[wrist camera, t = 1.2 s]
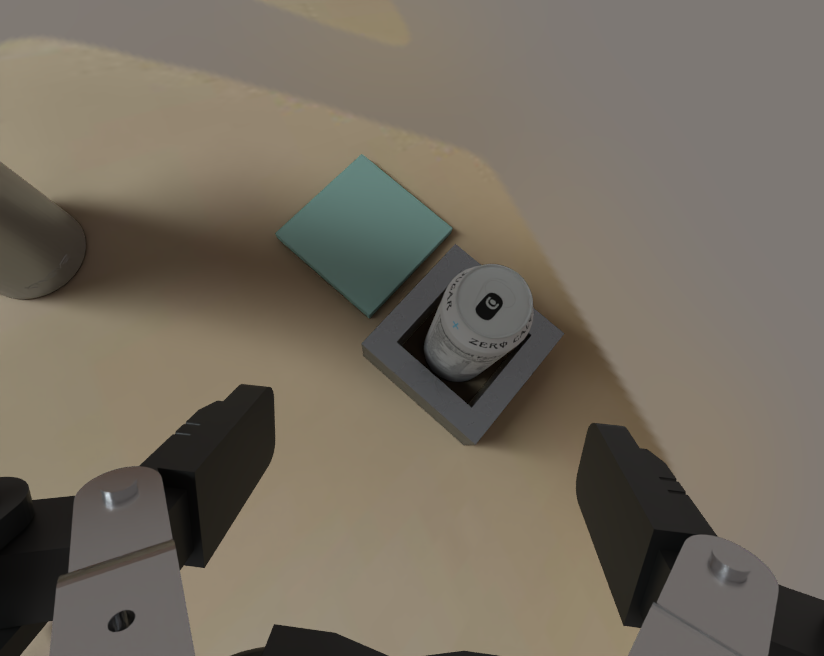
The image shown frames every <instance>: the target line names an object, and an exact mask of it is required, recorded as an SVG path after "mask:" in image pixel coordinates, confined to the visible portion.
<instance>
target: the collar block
mask: <svg viewBox="0 0 824 656" xmlns="http://www.w3.org/2000/svg"><path fill="white" fill-rule="evenodd" d="M476 266H481V265H480V264H479V263H478V262H477V261H476V260H474V259H473V258H472V257H471V256H469V255H468V254H467V253H466V252H465V251H463V250H462V249H461V248H460V247H459V246H457V245H456V244H455V245H454V246H453V247H452V248H451V249H450V250H449V251H448V252H447V253H446V254H445V256H444V257H443V258H442V259H441V260H440V261H439V262H438V263H437V264H436V265H435V266H434V267H433V268H432V269H431V270H430V271H429V273H428V274H427V275H426V276H425V277H424V278H423V279H422V280H421V281H420V282H419V283H418V284H417V285H416V286H415V287H414V288H413V290H412V291H411V292H410V293H409V294H408V295H407V296H406V297H405V298H404V299H403V300H402V301H401V302H400V303H399V304H398V305H397V306H396V308H395V309H394V310H393V311H392V312H391V313H390V314H389V315H388V316H387V317H386V318H385V319H384V320H383V321H382V322H381V323H380V325H379V326H378V327H377V328H376V329H375V330H374V331H373V332H372V333H371V334H370V335H369V336H368V337H367V338H366V339H365V340H364V342H363V343H362V351H363V356H364V357H365V358H366V359H367V360H368V361H370V362H371V363H372V364H373V365H374V366H375V367H376V368H377V369H379V370H380V371H381V372H382V373H383V374H384V375H385V376H386V377H388V378H389V379H390V380H391V381H392V382H393V383H394V384H395V385H397V386H398V387H399V388H400V389H401V390H402V391H403V392H404V393H406V394H407V395H408V396H409V397H410V398H411V399H412V400H413V401H415V402H416V403H417V404H418V405H419V406H420V407H421V408H422V409H424V410H425V411H426V412H427V413H428V414H429V415H430V416H431V417H433V418H434V419H435V420H436V421H437V422H438V423H439V424H440V425H442V426H443V427H444V428H445V429H446V430H447V431H448V432H450V433H451V434H452V435H453V436H454V437H455V438H456V439H457V440H459V441H460V442H461V443H462V444H463V445H476V443H477V442H478V441H479V440H480V438H481V437H482V436H483V435H484V433H485V432H486V431H487V430H488V428H489V427H490V426H491V425H492V423H493V422H494V421H495V420H496V418H497V417H498V416H499V415H500V413H501V412H502V411H503V410H504V408H505V407H506V406H507V405H508V403H509V402H510V401H511V400H512V398H513V397H514V396H515V395H516V393H517V392H518V391H519V390H520V388H521V387H522V386H523V385H524V383H525V382H526V381H527V380H528V378H529V377H530V376H531V375H532V373H533V372H534V371H535V370H536V368H537V367H538V366H539V365H540V363H541V362H542V361H543V360H544V358H545V357H546V356H547V355H548V353H549V352H550V351H551V350H552V348H553V347H554V346H555V345H556V343H557V342H558V341H559V340H560V338H561V337H562V336H563V335H564V333H563V332H562V331H561V330H559V329H558V328H557V327H556V326H555V325H553V324H552V323H551V322H550V321H549V320H547V319H546V318H545V317H544V316H542V315H541V314H540V313H539V312H538V311H536V310H535V309H534V308H533V314H534V315H533V322H532V325H531V328H530V331H529V332H528V334H527V336H526V337H525V339H524V340H523V341H522V342H521V343H520V344H518V345H517V346H516V347H515V348H514V349H513V351H512V352H511V353H510V354H509V355H508V357H507V358H506V359H505V360H504V361H503V363H502V364H501V365H500V366H499V367H498V369H497V370H496V371H495V372H494V373H493V375H492V376H491V377H490V378H489V379H488V381H487V382H486V383H485V384H484V385H483V387H482V388H481V389H480V390H479V392H478V393H477V394H476V395H475V396H474V398H473V399H472V400H471V401H470V402H469V404H467V403H466V402H465V401H463V400H462V399H461V398H460V397H459V396H458V395H457V394H455V393H454V392H453V391H452V390H451V389H450V388H448V387H447V386H446V385H445V384H444V383H443V382H442V381H440V380H439V379H438V378H437V377H436V376H435V375H434V374H432V373H431V372H430V371H429V370H428V369H427V368H426V367H424V366H423V365H422V364H421V363H420V362H419V361H418V360H416V359H415V358H414V357H413V356H412V355H411V354H410V353H408V352H407V351H406V350H405V349H404V348H403V347H402V345H403V344H404V343H405V342H406V341H407V340H408V339H409V338H410V337H411V336H412V334H413V333H414V332H415V331H416V330H417V329H418V328H419V327H420V326H421V325H422V323H423V322H424V321H425V320H426V319H427V318H428V317H429V316H430V315H431V314H432V312H433V311H434V310H435V309H436V308H437V307H438V306H439V305H440V303H441V300H442V298H443V295H444V293H445V291H446V289H447V286H448V285H449V284H450V282H451V281H452V279H454V278H455V277H456V276H457V275H458V274H459V273H461V272H463V271H464V270H466V269H469V268H472V267H476Z"/></svg>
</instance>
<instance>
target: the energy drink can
mask: <svg viewBox="0 0 824 656" xmlns="http://www.w3.org/2000/svg"><path fill="white" fill-rule="evenodd" d="M533 315H534V314H533V298H532V294H531V291H530V289H529V286H528V284H527V283H526V282H525V280H524V279H523V278H522V277H521V276H520V275H519V274H518V273H517V272H515V271H514V270H512V269H510V268H508V267H506V266H502V265H498V264H486V265H481V266H476V267H472V268H469V269H466V270H464V271H463V272H461V273H459V274H458V275H457V276H456V277H455V278H454V279H452V281H451V282H450V284H449V285H448V286H447V289H446V291H445V293H444V295H443V298H442V300H441V303H440V305H439V307H438V310H437V312H436V314H435V317H434V319H433V322H432V324H431V326H430V329H429V331H428V333H427V336H426V338H425V342H424V354H425V358H426V361H427V363H428V365H429V366H430V368H431V369H432V370H433V371H434V372H435V374H437V375H438V376H440V377H441V378H443V379H446V380H448V381H453V382H463V381H468V380H470V379H473V378H474V377H476V376H477V375H479V374H480V373H481V372H483V371H484V370H485V369H487V368H488V367H489V366H491V365H492V364H493V363H495V362H496V361H497V360H499V359H500V358H501V357H503V356H504V355H505V354H507V353H508V352H509V351H511V350H512V349H513V348H515V347H516V346H517V345H518V344H520V343H521V342H522V341H523V340H524V339H525V337H526V336H527V334H528V332H529V331H530V328H531V325H532V322H533Z"/></svg>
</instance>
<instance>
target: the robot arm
mask: <svg viewBox="0 0 824 656" xmlns="http://www.w3.org/2000/svg"><path fill="white" fill-rule="evenodd" d="M85 250H86V241H85V236H84V233H83V230H82V228H81V226H80V225H79V223H78V222H77V221H76V220H75V219H74V218H73V217H72V216H71V215H70V214H68V213H67V212H66V211H64V210H63V209H62V208H60V207H59V206H58V205H56V204H55V203H54V202H53V201H51V200H50V199H49V198H47V197H46V196H45V195H44V194H42V193H41V192H40V191H38V190H37V189H36V188H34V187H33V186H32V185H31V184H29V183H28V182H27V181H25V180H24V179H23V178H21V177H20V176H19V175H17V174H16V173H15V172H13V171H12V170H11V169H9V168H8V167H7V166H6V165H4V164H3V163H2V162H0V295H3V296H6V297H9V298H15V299H31V298H37V297H40V296H44V295H47V294H49V293H51V292H53V291H56V290H57V289H59V288H60V287H62V286H63V285H64V284H66V283H67V282H68V281H69V280H70V279H71V278H72V277H73V276H74V275H75V273H76V272H77V270H78V269H79V267H80V266H81V263H82V261H83V259H84V255H85ZM274 448H275V416H274V394H273V390H272V388H271V387H264V386H255V385H246V384H241V385H239V386H238V387H237V388H236V389H235V390H234V391H233V392H232V393H231V394H230V395H229V396H228V397H227V398H226V399H225V400H224V401H216V402H214V403H212V404H210V405H208V406H206V407H204V408H202V409H200V410H198V411H197V412H196V413H195V414H194V415H193V416H192V417H191V418H190V419H189V420H187V421H186V424H183V425H182V426H181V427H180V428H179V429H178V430H177V431H176V433H175V435H174V434H173V435H172V436H171V437H169V438H168V439H167V440H166V441H165V442H164V443H163V444H162V445H161V446H160V447H159V448H158V449H157V450H156V451H155V452H154V453H153V454H151V455H150V456H149V457H148V458H147V459H146V460H145V461H144V462H143V463H142V464H141V465H140V466H132V467H124V468H119V469H116V470H112V471H109V472H106V473H104V474H102V475H100V476H97V477H96V478H94V479H92V480H91V481H89V482H88V483H86V484H85V485H84V486H83V487H82V488H81V489H80V490H79V491H78V492H77V494H76V496H68V497H58V498H49V499H39V500H32V498H31V494H30V491H29V487H28V484H27V483H26V482H25V481H24V480H22V479H19V478H15V477H0V656H20V655H21V654H22V652H23V651H24V650H25V649H26V648H27V646H28V645H29V644H30V643H31V642H32V640H33V639H34V638H35V637H36V636H37V634H38V633H39V632H40V631H41V630H42V628H43V627H44V626H45V625H46V623H47V622H48V621H53V625H52V635H51V645H50V654H49V656H195V652H194V647H193V641H192V636H191V630H190V624H189V619H188V613H187V608H186V602H185V597H184V591H183V586H182V580H181V575H180V570H181V568H182V567H183V565H186V566H194V567H201V568H205V566H206V565H207V563H208V562H209V560H210V558H211V557H212V555H213V554H214V552H215V550H216V549H217V547H218V546H219V544H220V542H221V541H222V539H223V538H224V536H225V534H226V533H227V531H228V530H229V528H230V527H231V525H232V523H233V522H234V520H235V519H236V517H237V515H238V514H239V512H240V511H241V509H242V507H243V506H244V504H245V503H246V501H247V499H248V498H249V496H250V495H251V493H252V491H253V490H254V488H255V487H256V485H257V483H258V482H259V480H260V479H261V477H262V475H263V474H264V472H265V471H266V469H267V467H268V466H269V464H270V462H271V459H272V457H273V453H274ZM576 495H577V500H578V504H579V506H580V509H581V512H582V514H583V517H584V520H585V523H586V525H587V528H588V531H589V533H590V536H591V539H592V541H593V544H594V547H595V550H596V552H597V555H598V558H599V560H600V563H601V566H602V569H603V571H604V574H605V577H606V579H607V582H608V585H609V588H610V590H611V593H612V596H613V598H614V601H615V604H616V607H617V609H618V612H619V615H620V617H621V620H622V623H623V626H630V627H638V628H641V629H640V631H639V633H638V635H637V638H636V640H635V642H634V644H633V646H632V648H631V650H630V652H629V655H628V656H824V600H821V599H818V598H815V597H812V596H809V595H807V594H803V593H801V592H798V591H795V590H792V589H789V588H786V587H784V586H781V585H778V582H777V580H776V578H775V576H774V575H773V573H772V572H771V570H770V569H769V568H768V567H767V566H766V565H765V564H764V563H763V562H762V561H761V560H760V559H759V558H758V557H756V556H755V555H753V554H752V553H751V552H749V551H748V550H746V549H745V548H743V547H741V546H739V545H737V544H735V543H733V542H731V541H728V540H726V539H723V538H720V537H717V535H716V534H715V532H714V531H713V529H712V528H711V527H710V526H709V524H708V522H707V521H706V520H705V518H704V517H703V515H702V514H701V513H700V511H699V510H698V508H697V507H696V506H695V504H694V503H693V501H692V500H691V499H690V497H689V496H688V495H686V493H685V490H684V489H683V487H682V486H681V485H680V483H679V482H676V478H675V476H674V475H673V473H672V472H671V471H670V469H669V468H668V466H667V465H666V464H665V463H664V462H663V461H662V460H660V459H659V458H658V457H656V456H655V455H654V454H653V453H651V452H650V451H649V450H647V449H641V448H639V446H638V445H637V443H636V442H635V440H634V439H633V437H632V436H631V434H630V433H629V431H628V430H627V428H626V427H624V426H617V425H608V424H599V423H592V424H591V425H590V426H589V428H588V431H587V434H586V439H585V443H584V447H583V452H582V456H581V460H580V464H579V469H578V473H577V479H576ZM231 656H388V655H385V654H383V653H381V652H378V651H376V650H374V649H371V648H369V647H367V646H364V645H362V644H360V643H357V642H355V641H353V640H350V639H348V638H346V637H343V636H341V635H339V634H336V633H332V632H325V631H318V630H311V629H304V628H297V627H289V626H282V625H275V624H274V626H273V628H272V631H271V634H270V636H269V639H268V641H267V644H266V646H265V647H261V648H255V649H251V650H247V651H243V652H239V653H237V654H234V655H231ZM428 656H497V655H490V654H483V653H476V652H469V651H459V652H451V653H443V654H435V655H428Z"/></svg>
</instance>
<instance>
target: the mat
mask: <svg viewBox="0 0 824 656" xmlns="http://www.w3.org/2000/svg"><path fill="white" fill-rule="evenodd" d="M452 229H453V228H452V227H450V226H449V225H448V224H447V223H446V222H444V221H443V220H442V219H441V218H439V217H438V216H437V215H436V214H435V213H433V212H432V211H431V210H430V209H428V208H427V207H426V206H425V205H424V204H422V203H421V202H420V201H419V200H417V199H416V198H415V197H414V196H413V195H411V194H410V193H409V192H408V191H406V190H405V189H404V188H403V187H402V186H400V185H399V184H398V183H397V182H395V181H394V180H393V179H392V178H391V177H389V176H388V175H387V174H386V173H384V172H383V171H382V170H381V169H380V168H378V167H377V166H376V165H375V164H373V163H372V162H371V161H370V160H369V159H367V158H366V157H365V156H364V155H362V154H361V155H360V156H359V157H358V158H357V159H356V160H355V161H354V162H352V163H351V164H350V165H349V166H348V167H347V168H346V169H345V170H344V171H343V172H342V173H340V174H339V175H338V176H337V177H336V178H335V179H334V180H333V181H332V182H331V183H330V184H328V185H327V186H326V187H325V188H324V189H323V190H322V191H321V192H320V193H319V194H318V195H316V196H315V197H314V198H313V199H312V200H311V201H310V202H309V203H308V204H307V205H306V206H304V207H303V208H302V209H301V210H300V211H299V212H298V213H297V214H296V215H295V216H294V217H292V218H291V219H290V220H289V221H288V222H287V223H286V224H285V225H284V226H283V227H282V228H280V229H279V230H278V231H277V232H276V233H275V234H276V236H277V238H278V239H279V240H280V241H281V242H282V243H284V244H285V245H286V246H287V247H288V248H289V249H290V250H292V251H293V252H294V253H295V254H296V255H297V256H298V257H300V258H301V259H302V260H303V261H304V262H305V263H306V264H308V265H309V266H310V267H311V268H312V269H313V270H314V271H316V272H317V273H318V274H319V275H320V276H321V277H322V278H324V279H325V280H326V281H327V282H328V283H329V284H330V285H332V286H333V287H334V288H335V289H336V290H337V291H338V292H340V293H341V294H342V295H343V296H344V297H345V298H347V299H348V300H349V301H350V302H351V303H352V304H353V305H355V306H356V307H357V308H358V309H359V310H360V311H361V312H363V313H364V314H365V315H366V316H367V317H368V318H370V317H371V316H372V315H373V314H374V313H375V312H376V311H377V310H378V309H379V308H380V307H381V306H382V305H383V304H384V303H385V302H386V301H387V300H388V299H389V297H390V296H391V295H392V294H393V293H394V292H395V291H396V290H397V289H398V288H399V287H400V286H401V285H402V284H403V283H404V282H405V281H406V280H407V279H408V278H409V276H410V275H411V274H412V273H413V272H414V271H415V270H416V269H417V268H418V267H419V266H420V265H421V264H422V263H423V262H424V261H425V260H426V259H427V258H428V257H429V256H430V254H431V253H432V252H433V251H434V250H435V249H436V248H437V247H438V246H439V245H440V244H441V243H442V242H443V241H444V240H445V239H446V238H447V237H448V236H449V235H450V234H451V232H452Z"/></svg>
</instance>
